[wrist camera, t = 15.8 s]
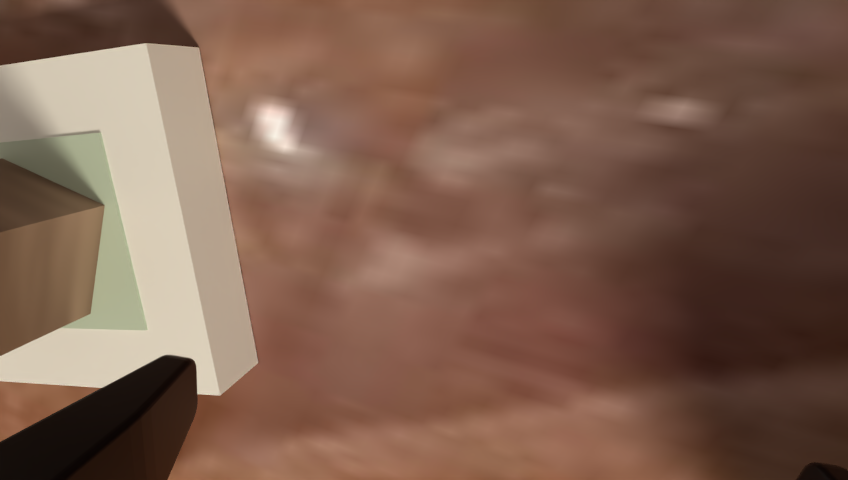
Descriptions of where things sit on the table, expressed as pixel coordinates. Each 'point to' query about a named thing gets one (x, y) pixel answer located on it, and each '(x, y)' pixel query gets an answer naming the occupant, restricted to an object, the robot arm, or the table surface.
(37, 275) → the walnut pillar
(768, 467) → the table surface
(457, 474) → the table surface
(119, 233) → the baseplate
